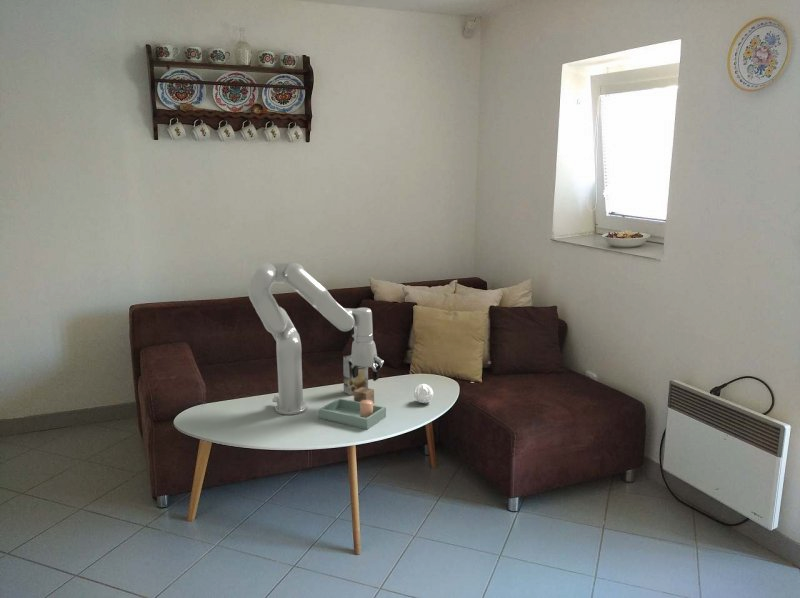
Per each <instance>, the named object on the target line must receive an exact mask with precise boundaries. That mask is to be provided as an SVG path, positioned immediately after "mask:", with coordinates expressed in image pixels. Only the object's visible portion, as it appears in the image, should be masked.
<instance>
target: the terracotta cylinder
mask: <svg viewBox="0 0 800 598" xmlns="http://www.w3.org/2000/svg"><path fill="white" fill-rule="evenodd" d="M373 405H374V403H373V401H371V400H362V401H360V417H364V418H367V417H369V416H370V415H372V414H373Z"/></svg>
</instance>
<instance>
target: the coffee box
mask: <svg viewBox="0 0 800 598" xmlns="http://www.w3.org/2000/svg"><path fill="white" fill-rule="evenodd" d="M350 355H351V354H350ZM350 355H343V356H342V357H343V362H342V363H343V392H344V393H346V394H348V395H349V396H354V391H356V390H357V389H359V388H361V387H364V388H369V367H362V366H357V367H358V376H357V377H355V378H353V374H352V368H351V366H350V365H349V363H348V361H347V359H346V357H348V356H350Z"/></svg>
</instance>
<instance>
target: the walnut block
mask: <svg viewBox="0 0 800 598" xmlns="http://www.w3.org/2000/svg"><path fill="white" fill-rule="evenodd" d="M362 400H371V401H373V404H375V389H373V388H369V387H368V388H364V387H361V388H359V389H357V390H356V391H354V395H353V401H357V402H360V401H362Z"/></svg>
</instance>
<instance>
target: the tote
mask: <svg viewBox="0 0 800 598" xmlns="http://www.w3.org/2000/svg"><path fill="white" fill-rule="evenodd" d="M386 417H387V407H386V406H383V405H381V406H380V405H378V404H377V405H376V404H373V414H372V415H370V416H369V417H367V418H364V417H360V402H357V401H354V400H351V399H347V398H341V397H338V398H336V399H335V400H333V401H331V402H329V403H327V404H326V405H323V406H322V407H321V408H319V409H318V418H319V420H322V421H328V422H332V423H335V424H341V425H345V426H349V427H355V428H358V429H359V428H360V429H363V430H366V431H367V430H369V429H371V428H372V427H373V426H375V425H376V424H378V423H380V422H381V421H382V420H384V419H385V418H386Z"/></svg>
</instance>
